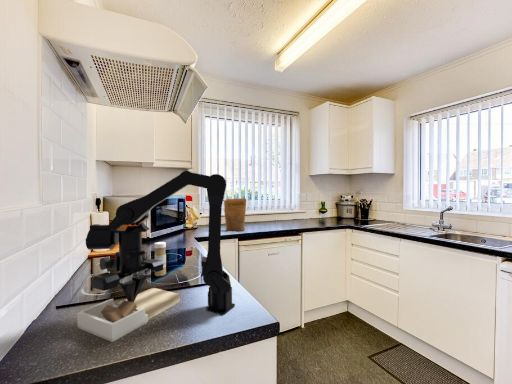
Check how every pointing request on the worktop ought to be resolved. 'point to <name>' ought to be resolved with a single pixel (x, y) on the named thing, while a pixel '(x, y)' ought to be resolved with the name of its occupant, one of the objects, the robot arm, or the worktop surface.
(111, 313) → the walnut tile
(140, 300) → the birch plate
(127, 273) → the robot arm
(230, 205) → the pancake mix bag
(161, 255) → the sprinkles bottle
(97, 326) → the box
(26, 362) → the worktop surface
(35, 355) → the worktop surface
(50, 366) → the worktop surface
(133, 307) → the walnut tile
